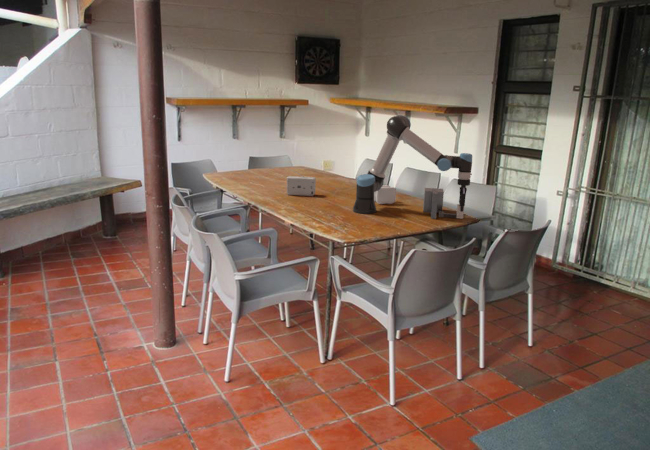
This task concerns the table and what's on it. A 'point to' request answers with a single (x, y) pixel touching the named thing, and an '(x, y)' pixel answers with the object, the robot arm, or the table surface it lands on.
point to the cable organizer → (385, 195)
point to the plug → (442, 214)
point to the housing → (433, 201)
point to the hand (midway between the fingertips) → (460, 215)
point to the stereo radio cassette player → (301, 185)
